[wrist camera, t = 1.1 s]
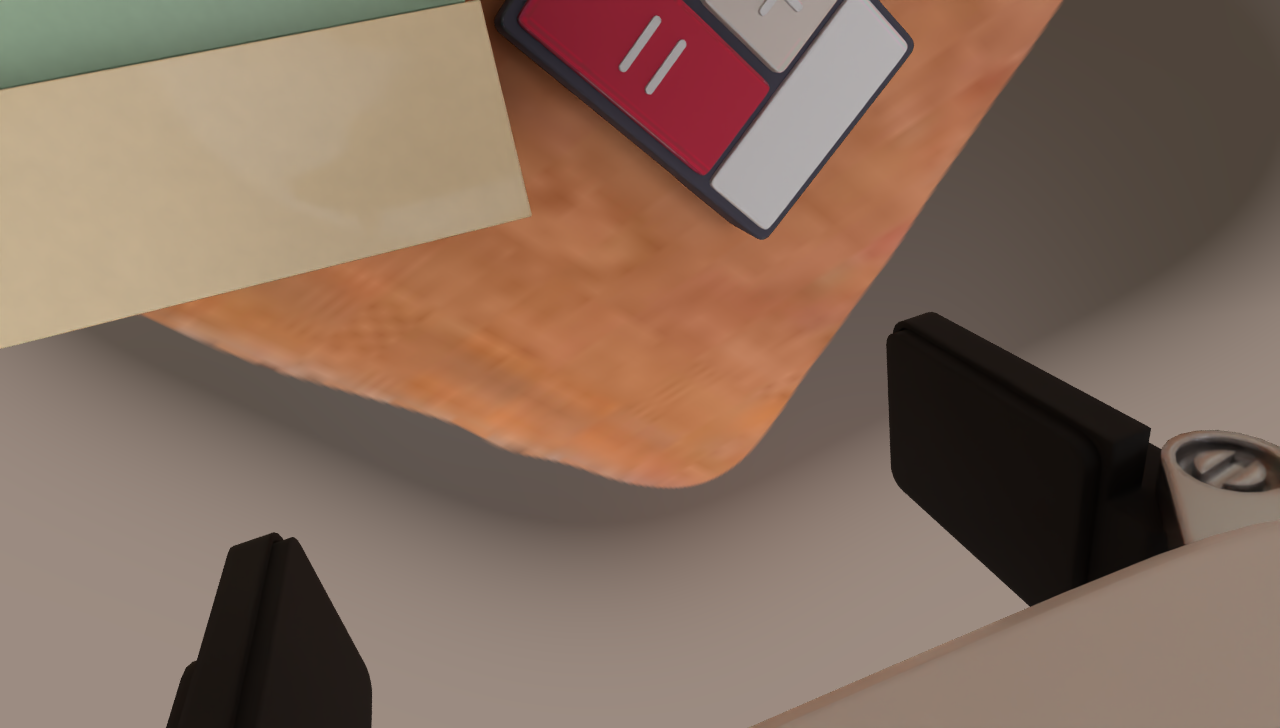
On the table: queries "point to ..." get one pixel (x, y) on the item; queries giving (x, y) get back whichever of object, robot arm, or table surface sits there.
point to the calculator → (721, 84)
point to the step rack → (234, 146)
